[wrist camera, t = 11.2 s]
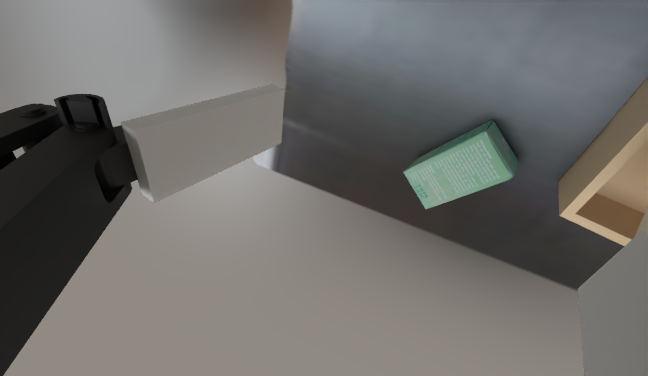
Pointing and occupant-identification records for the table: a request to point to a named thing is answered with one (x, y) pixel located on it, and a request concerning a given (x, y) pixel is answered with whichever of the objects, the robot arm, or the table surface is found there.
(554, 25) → the table surface
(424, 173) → the box
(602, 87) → the table surface
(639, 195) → the carton
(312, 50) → the table surface
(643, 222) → the lid
